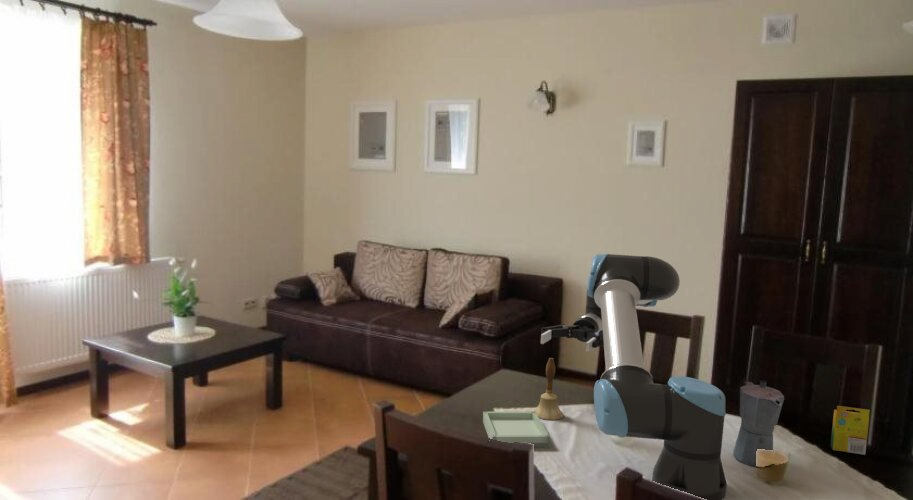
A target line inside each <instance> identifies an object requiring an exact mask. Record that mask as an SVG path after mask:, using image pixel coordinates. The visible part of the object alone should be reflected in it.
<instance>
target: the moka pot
mask: <svg viewBox="0 0 913 500" xmlns="http://www.w3.org/2000/svg"><path fill="white" fill-rule="evenodd" d="M737 399H738V407H739V409H738V410H739V411H738V413H739V415H740V419H741V421H740V427H739V431H738V434H737V437H736V441H735V445H734V448H733V454H732V455H733V457H734V458H735V459H736V460H738V462H740V463H743V464H744V465H747V466H751V467H754V468H756V467H755V466H756V451H757V449H765V450H773V451H774V431H775V427H776V426H777V424H778V421H779V418H780V414H781V411H782V407H783V403H784V401H785V396H784V394H783V393H782V392H781V390H778V389H775V388H773V387H770V386H767V381H766V380H764V379H763V380H762V379H761V380H759V384H754V382H752V381H749V380H747V378H745V377H743V378H742V379H741V380H740V381H739V382H738V383H737Z"/></svg>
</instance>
